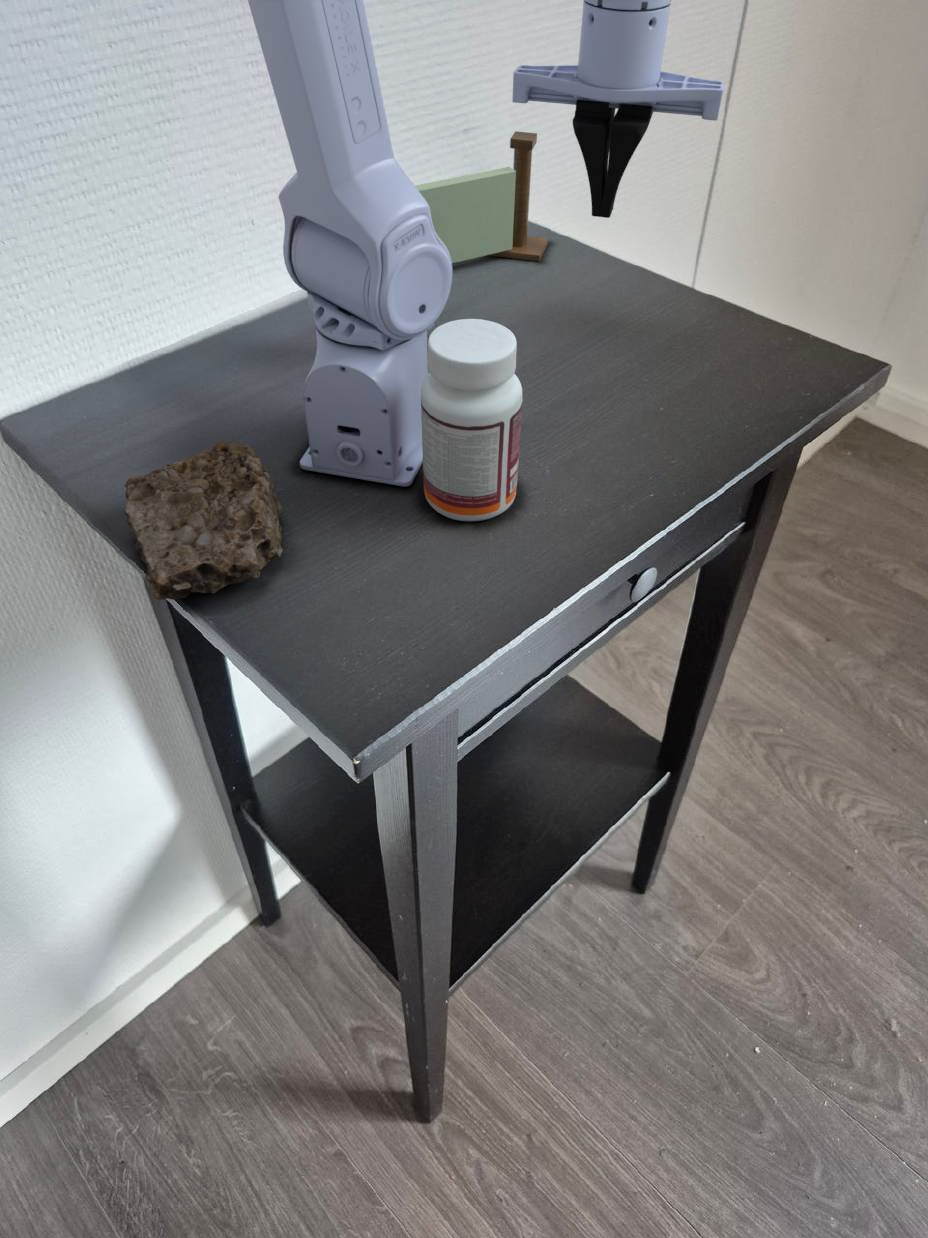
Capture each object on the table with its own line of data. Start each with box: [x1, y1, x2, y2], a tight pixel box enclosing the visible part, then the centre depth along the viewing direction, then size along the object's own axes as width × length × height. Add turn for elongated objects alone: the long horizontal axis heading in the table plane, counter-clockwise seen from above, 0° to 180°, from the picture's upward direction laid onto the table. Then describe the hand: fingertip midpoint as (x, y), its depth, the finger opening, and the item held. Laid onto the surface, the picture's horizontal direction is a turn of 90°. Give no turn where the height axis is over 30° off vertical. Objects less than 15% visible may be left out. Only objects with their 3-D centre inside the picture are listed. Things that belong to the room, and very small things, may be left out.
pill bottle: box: [421, 318, 524, 522], centre depth 55 cm, size 6×6×11 cm
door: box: [414, 166, 516, 264], centre depth 79 cm, size 13×2×7 cm, turn 119°
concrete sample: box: [123, 440, 284, 601], centre depth 54 cm, size 12×10×5 cm
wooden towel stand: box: [489, 130, 549, 262], centre depth 82 cm, size 4×5×10 cm
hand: (602, 211), depth 68 cm, fingers closed
